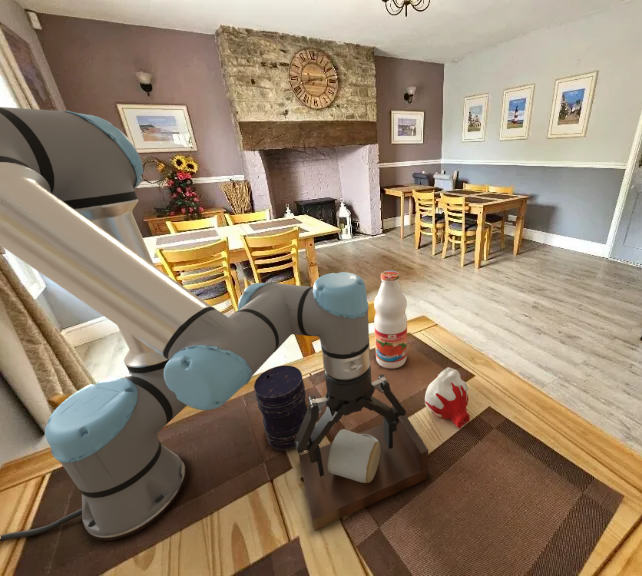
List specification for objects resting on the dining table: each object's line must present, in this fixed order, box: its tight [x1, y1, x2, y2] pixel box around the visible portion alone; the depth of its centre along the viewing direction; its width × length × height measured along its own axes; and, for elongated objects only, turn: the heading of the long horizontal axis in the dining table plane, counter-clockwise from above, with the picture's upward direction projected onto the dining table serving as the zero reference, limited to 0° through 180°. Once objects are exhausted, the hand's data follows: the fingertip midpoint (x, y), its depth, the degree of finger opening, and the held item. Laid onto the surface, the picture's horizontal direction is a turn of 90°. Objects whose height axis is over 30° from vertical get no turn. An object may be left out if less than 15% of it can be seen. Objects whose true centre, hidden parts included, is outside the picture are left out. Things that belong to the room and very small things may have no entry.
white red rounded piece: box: [424, 366, 471, 429], centre depth 73 cm, size 9×11×15 cm
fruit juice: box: [373, 270, 408, 369], centre depth 88 cm, size 9×9×28 cm
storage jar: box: [253, 364, 308, 451], centre depth 68 cm, size 10×10×15 cm
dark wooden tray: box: [298, 403, 429, 531], centre depth 60 cm, size 22×13×8 cm, turn 113°
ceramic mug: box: [328, 428, 381, 483], centre depth 59 cm, size 11×8×8 cm
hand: (355, 455), depth 59 cm, fingers open, 13 cm apart
